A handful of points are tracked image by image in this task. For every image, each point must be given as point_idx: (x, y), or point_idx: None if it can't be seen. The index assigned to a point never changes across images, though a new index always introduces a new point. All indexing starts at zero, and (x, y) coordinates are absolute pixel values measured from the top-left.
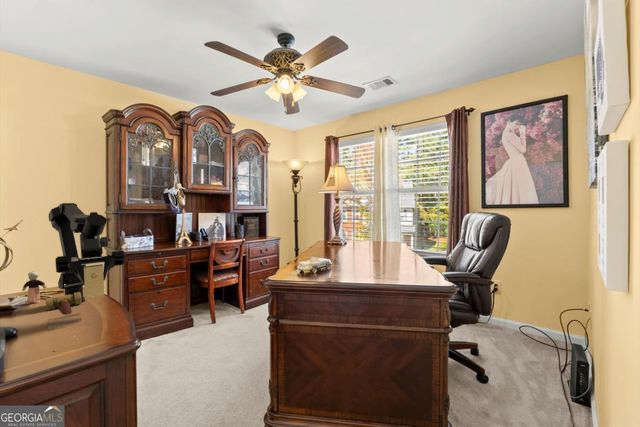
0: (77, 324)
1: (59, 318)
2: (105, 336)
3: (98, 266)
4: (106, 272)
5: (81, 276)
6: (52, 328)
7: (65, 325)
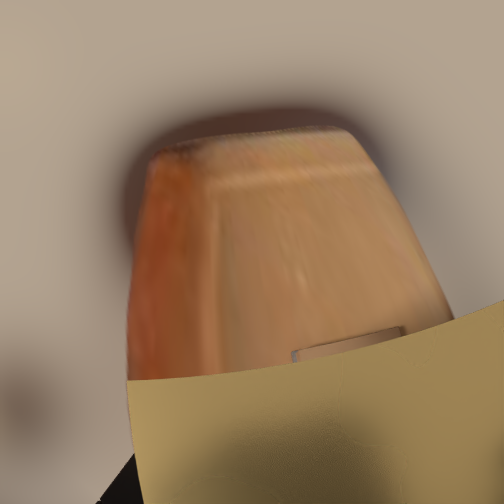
0: (314, 347)
1: None
2: (206, 219)
3: (261, 373)
4: (131, 461)
5: None
6: None
7: None
